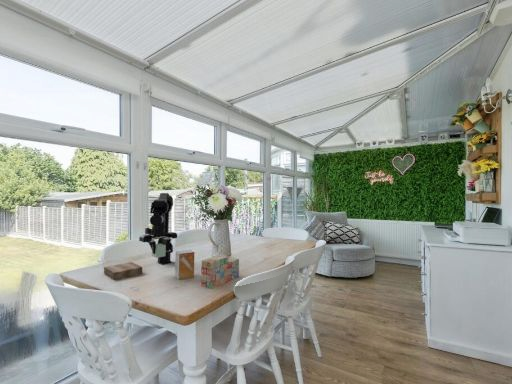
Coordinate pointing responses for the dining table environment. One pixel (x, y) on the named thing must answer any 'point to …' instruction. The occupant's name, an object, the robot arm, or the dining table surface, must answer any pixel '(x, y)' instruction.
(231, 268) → the stack of blocks
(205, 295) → the dining table surface
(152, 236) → the robot arm
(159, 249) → the green cube
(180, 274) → the small box
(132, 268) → the walnut base
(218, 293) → the dining table surface
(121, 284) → the dining table surface
